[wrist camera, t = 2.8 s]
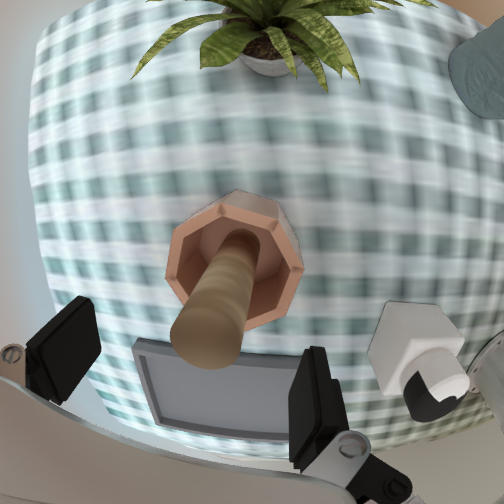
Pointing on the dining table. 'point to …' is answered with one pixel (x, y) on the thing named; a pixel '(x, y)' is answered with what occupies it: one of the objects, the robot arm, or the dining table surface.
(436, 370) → the medicine bottle
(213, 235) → the cup
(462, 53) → the blue-grey plant pot
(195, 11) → the dining table surface
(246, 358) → the tray
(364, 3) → the house plant
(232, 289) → the dowel
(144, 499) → the robot arm
